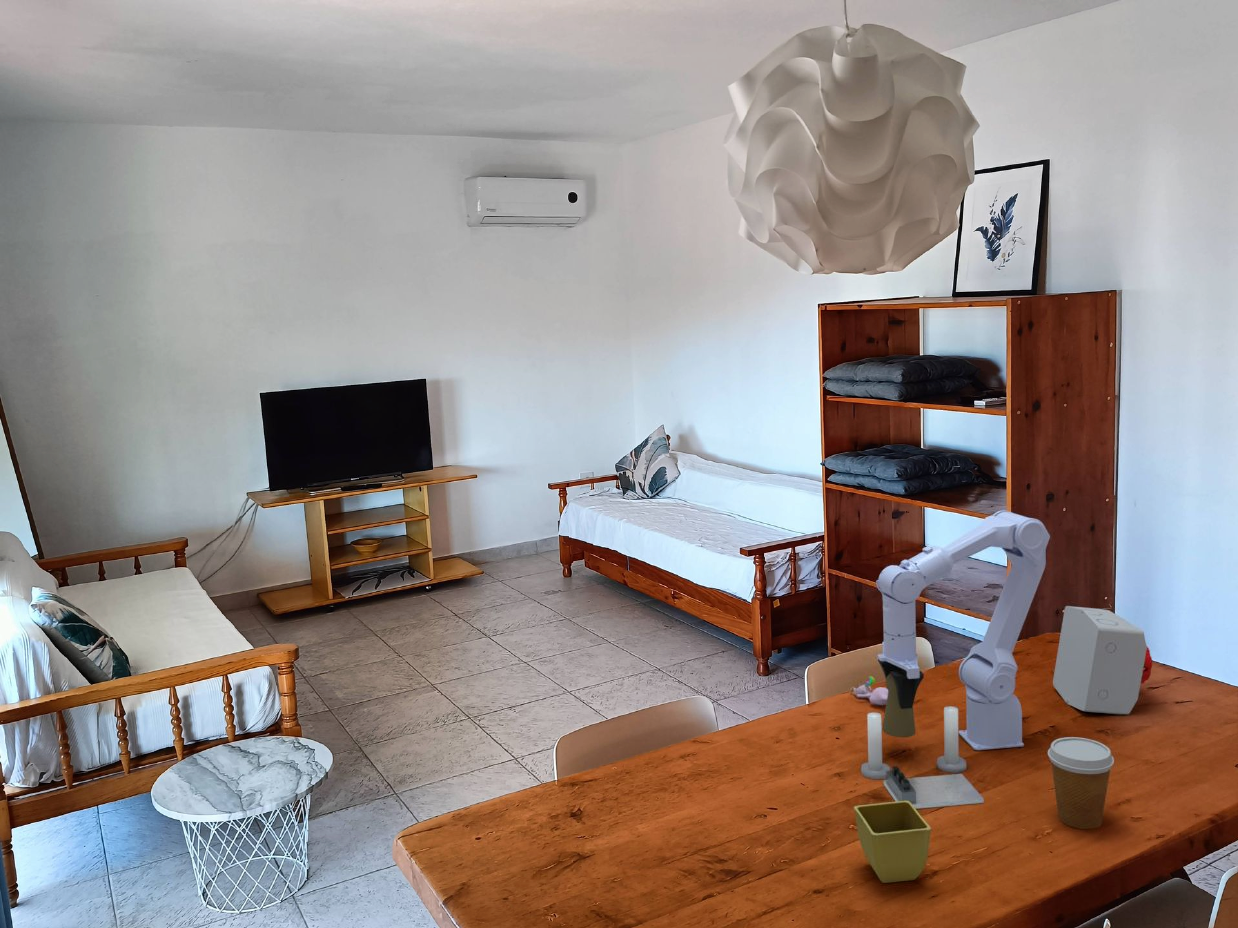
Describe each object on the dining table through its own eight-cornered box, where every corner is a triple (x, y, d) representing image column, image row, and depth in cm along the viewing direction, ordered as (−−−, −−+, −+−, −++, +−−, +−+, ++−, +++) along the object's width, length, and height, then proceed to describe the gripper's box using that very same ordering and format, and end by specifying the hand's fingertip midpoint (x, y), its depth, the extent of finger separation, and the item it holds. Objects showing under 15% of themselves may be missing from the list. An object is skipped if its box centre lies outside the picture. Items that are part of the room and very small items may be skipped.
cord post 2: (959, 759, 178) (959, 702, 177) (970, 771, 174) (970, 713, 172) (932, 761, 178) (932, 704, 177) (943, 773, 173) (942, 715, 172)
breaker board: (961, 777, 171) (961, 756, 171) (983, 802, 163) (983, 780, 162) (883, 784, 171) (883, 763, 170) (901, 809, 162) (901, 787, 161)
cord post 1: (884, 765, 178) (883, 708, 176) (893, 778, 173) (892, 719, 171) (857, 767, 178) (856, 710, 176) (866, 780, 173) (864, 721, 171)
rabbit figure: (844, 702, 211) (890, 714, 197) (841, 675, 211) (887, 685, 197) (867, 696, 213) (914, 707, 200) (864, 669, 213) (911, 679, 200)
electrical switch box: (1157, 724, 193) (1175, 627, 190) (1083, 717, 193) (1099, 620, 190) (1121, 695, 207) (1136, 605, 204) (1051, 689, 207) (1066, 599, 204)
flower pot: (854, 859, 148) (852, 804, 147) (909, 853, 149) (908, 799, 148) (874, 893, 140) (872, 834, 138) (933, 886, 140) (932, 828, 139)
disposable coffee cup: (1086, 841, 149) (1087, 767, 148) (1034, 814, 158) (1034, 745, 156) (1126, 823, 154) (1127, 751, 152) (1073, 798, 162) (1074, 730, 160)
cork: (912, 723, 184) (913, 668, 182) (918, 737, 178) (920, 680, 176) (879, 722, 184) (880, 667, 183) (885, 737, 179) (886, 680, 177)
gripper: (866, 620, 185) (867, 688, 187) (891, 646, 171) (892, 719, 173) (902, 618, 185) (903, 685, 187) (930, 642, 171) (931, 716, 173)
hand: (900, 701), depth 180 cm, fingers closed on cork, 5 cm apart
